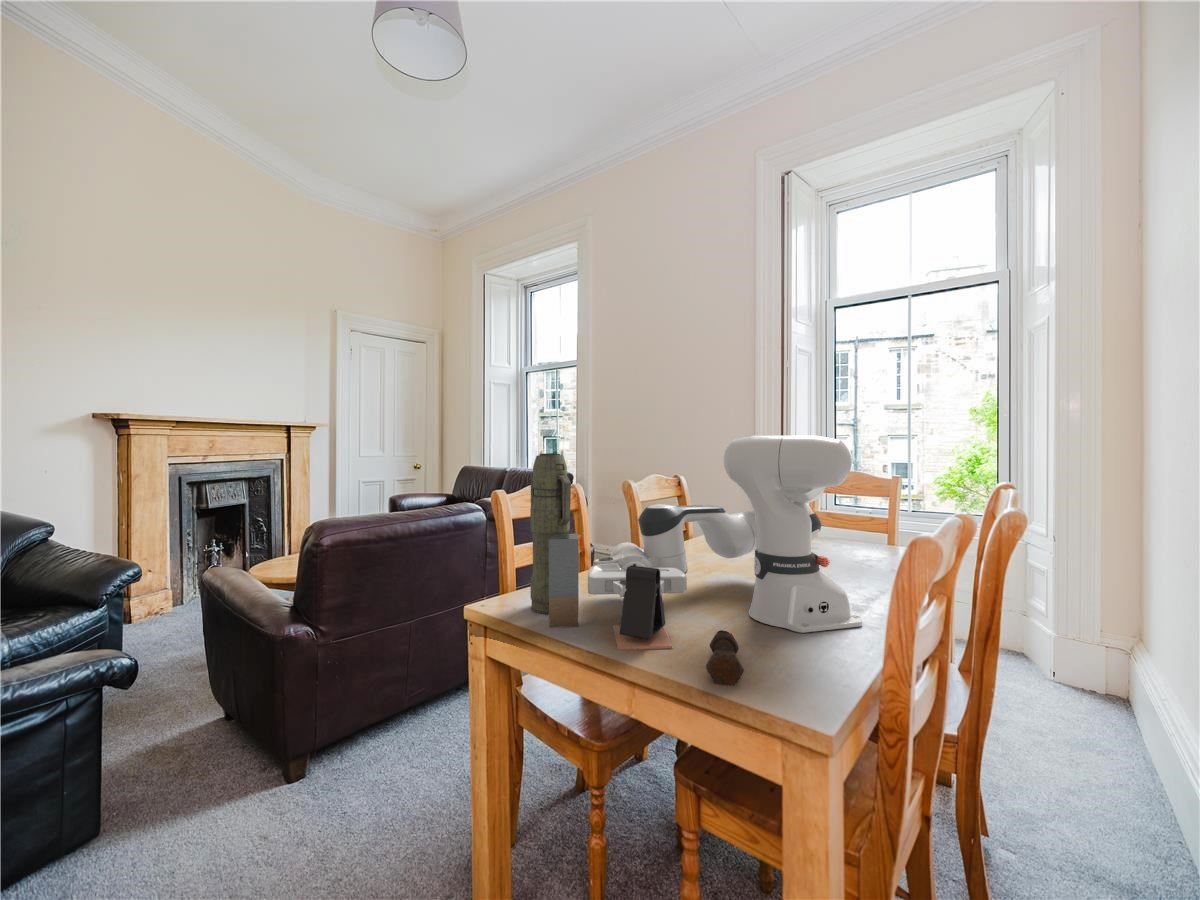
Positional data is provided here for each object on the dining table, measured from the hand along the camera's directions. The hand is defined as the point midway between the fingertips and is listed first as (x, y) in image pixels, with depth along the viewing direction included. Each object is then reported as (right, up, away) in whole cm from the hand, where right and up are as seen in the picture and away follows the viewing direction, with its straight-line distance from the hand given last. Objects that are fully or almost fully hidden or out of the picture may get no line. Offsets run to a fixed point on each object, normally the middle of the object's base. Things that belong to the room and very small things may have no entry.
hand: (641, 592), depth 100 cm
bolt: (+13, -10, -11) cm, 20 cm away
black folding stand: (0, -7, 0) cm, 8 cm away
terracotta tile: (0, -9, +1) cm, 9 cm away
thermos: (-19, -9, +18) cm, 28 cm away
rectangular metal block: (-15, -9, +10) cm, 20 cm away
